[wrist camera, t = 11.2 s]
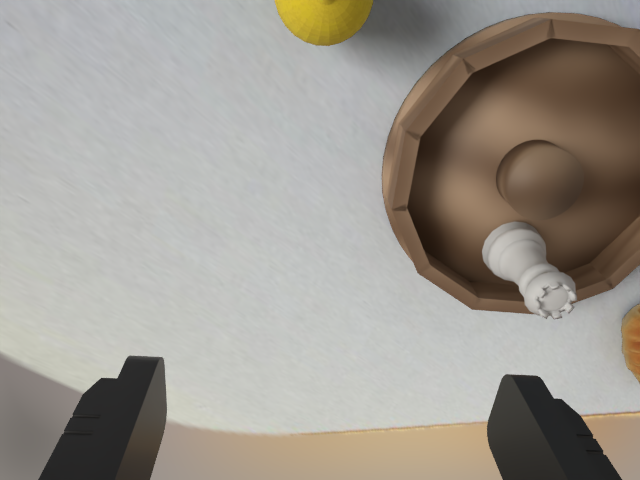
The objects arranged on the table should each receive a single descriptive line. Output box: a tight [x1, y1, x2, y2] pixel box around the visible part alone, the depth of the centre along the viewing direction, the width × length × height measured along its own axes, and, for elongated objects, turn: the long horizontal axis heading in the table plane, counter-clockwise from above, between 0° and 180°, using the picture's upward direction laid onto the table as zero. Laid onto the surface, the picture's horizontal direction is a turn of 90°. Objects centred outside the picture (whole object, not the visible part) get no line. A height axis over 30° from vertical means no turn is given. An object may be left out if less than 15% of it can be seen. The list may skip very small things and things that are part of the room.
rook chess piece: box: [482, 221, 577, 319], centre depth 35 cm, size 4×4×8 cm
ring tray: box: [382, 12, 640, 314], centre depth 36 cm, size 21×21×4 cm
